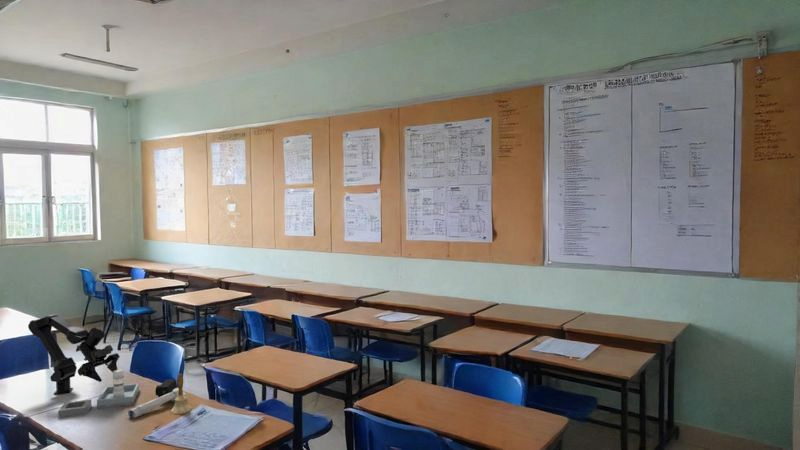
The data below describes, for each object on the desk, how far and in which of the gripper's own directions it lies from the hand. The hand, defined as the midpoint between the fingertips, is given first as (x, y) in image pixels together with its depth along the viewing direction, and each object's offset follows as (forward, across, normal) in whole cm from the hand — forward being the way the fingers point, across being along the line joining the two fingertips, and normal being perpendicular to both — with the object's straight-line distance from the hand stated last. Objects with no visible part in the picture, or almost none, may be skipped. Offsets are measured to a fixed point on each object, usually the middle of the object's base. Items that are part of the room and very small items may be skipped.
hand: (109, 378), depth 236 cm
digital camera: (+24, +8, -11) cm, 28 cm away
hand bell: (+36, -3, -23) cm, 43 cm away
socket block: (+6, -17, +7) cm, 19 cm away
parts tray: (+10, 0, +3) cm, 11 cm away
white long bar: (+29, -4, -15) cm, 33 cm away
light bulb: (+10, 0, +2) cm, 10 cm away
